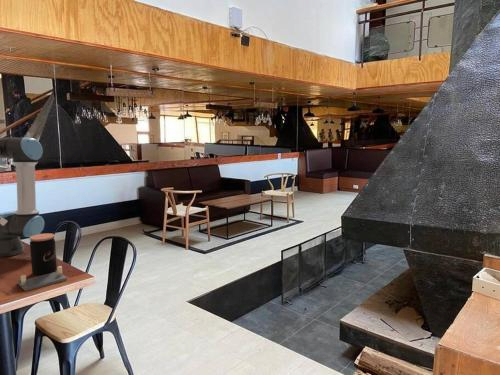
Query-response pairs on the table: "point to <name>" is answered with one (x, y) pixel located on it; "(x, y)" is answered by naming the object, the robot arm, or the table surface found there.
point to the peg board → (42, 280)
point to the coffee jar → (43, 254)
